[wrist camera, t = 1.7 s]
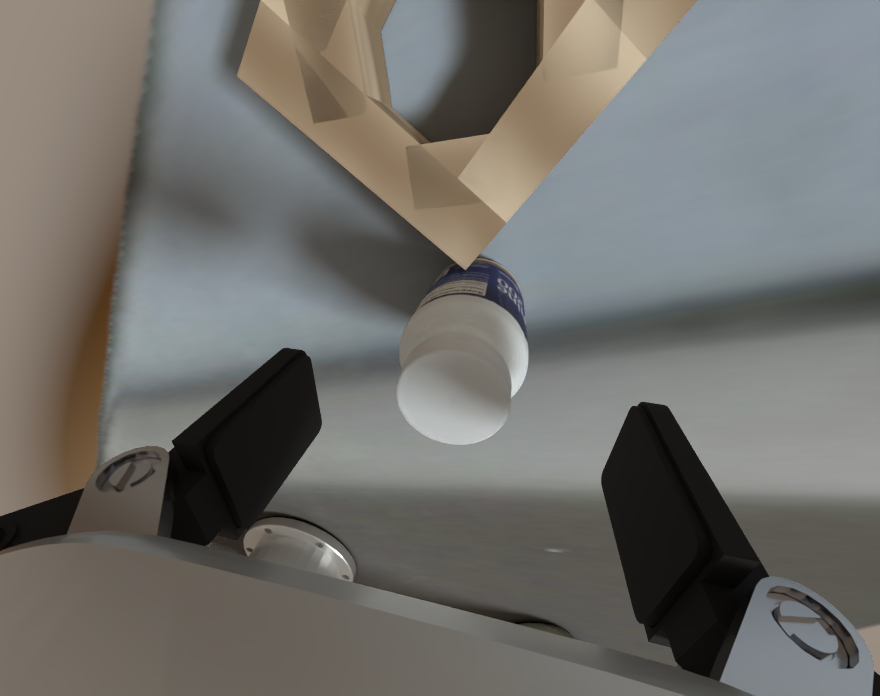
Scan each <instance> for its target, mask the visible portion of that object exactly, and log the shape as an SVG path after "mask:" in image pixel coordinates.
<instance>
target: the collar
mask: <svg viewBox="0 0 880 696" xmlns="http://www.w3.org/2000/svg"><path fill="white" fill-rule="evenodd" d="M395 1H396V0H260V3H259V6H258V10H257V13H256V16H255V19H254V22H253V26H252V29H251V32H250V35H249V39H248V42H247V45H246V48H245V51H244V55H243V58H242V61H241V64H240V67H239V71H238V74H237V77H238V78H240V79H241V80H242V81H243V82H244V83H245V84H247V85H248V86H249V87H250V88H251V89H253V90H254V91H255V92H256V93H257V94H258V95H260V96H261V97H262V98H263V99H264V100H265V101H267V102H268V103H269V104H270V105H271V106H273V107H274V108H275V109H276V110H277V111H278V112H280V113H281V114H282V115H283V116H284V117H286V118H287V119H288V120H289V121H290V122H291V123H293V124H294V125H295V126H296V127H297V128H298V129H300V130H301V131H302V132H303V133H304V134H306V135H307V136H308V137H309V138H310V139H311V140H313V141H314V142H315V143H316V144H317V145H318V146H320V147H321V148H322V149H323V150H324V151H326V152H327V153H328V154H329V155H330V156H331V157H333V158H334V159H335V160H336V161H337V162H338V163H340V164H341V165H342V166H343V167H344V168H346V169H347V170H348V171H349V172H350V173H351V174H353V175H354V176H355V177H356V178H357V179H358V180H360V181H361V182H362V183H363V184H364V185H366V186H367V187H368V188H369V189H370V190H371V191H373V192H374V193H375V194H376V195H377V196H378V197H380V198H381V199H382V200H383V201H384V202H386V203H387V204H388V205H389V206H390V207H391V208H393V209H394V210H395V211H396V212H397V213H398V214H400V215H401V216H402V217H403V218H404V219H406V220H407V221H408V222H409V223H410V224H411V225H413V226H414V227H415V228H416V229H417V230H418V231H420V232H421V233H422V234H423V235H424V236H426V237H427V238H428V239H429V240H430V241H431V242H433V243H434V244H435V245H436V246H437V247H438V248H440V249H441V250H442V251H443V252H444V253H446V254H447V255H448V256H449V257H450V258H451V259H453V260H454V261H455V262H456V263H457V264H458V265H460V266H461V267H462V268H463V269H464V270H466V269H467V268H468V267H469V266H470V265H471V263H472V262H473V261H474V260H475V259H476V258H477V256H478V255H479V254H480V253H481V252H482V251H483V249H484V248H485V247H486V246H487V245H488V244H489V242H490V241H491V240H492V239H493V238H494V237H495V236H496V234H497V233H498V232H499V231H500V230H501V229H502V227H503V226H504V225H505V224H506V223H507V222H508V220H509V219H510V218H511V217H512V216H513V215H514V213H515V212H516V211H517V210H518V209H519V208H520V206H521V205H522V204H523V203H524V202H525V201H526V199H527V198H528V197H529V196H530V195H531V194H532V192H533V191H534V190H535V189H536V188H537V187H538V185H539V184H540V183H541V182H542V181H543V180H544V178H545V177H546V176H547V175H548V174H549V173H550V171H551V170H552V169H553V168H554V167H555V166H556V164H557V163H558V162H559V161H560V160H561V159H562V157H563V156H564V155H565V154H566V153H567V152H568V150H569V149H570V148H571V147H572V146H573V145H574V143H575V142H576V141H577V140H578V139H579V138H580V136H581V135H582V134H583V133H584V132H585V131H586V129H587V128H588V127H589V126H590V125H591V124H592V122H593V121H594V120H595V119H596V118H597V117H598V115H599V114H600V113H601V112H602V111H603V110H604V108H605V107H606V106H607V105H608V104H609V103H610V101H611V100H612V99H613V98H614V97H615V96H616V94H617V93H618V92H619V91H620V90H621V89H622V87H623V86H624V85H625V84H626V83H627V82H628V80H629V79H630V78H631V77H632V76H633V75H634V73H635V72H636V71H637V70H638V69H639V68H640V66H641V65H642V64H643V63H644V62H645V61H646V60H647V58H648V57H649V56H650V55H651V54H652V53H653V51H654V50H655V49H656V48H657V47H658V46H659V44H660V43H661V42H662V41H663V40H664V39H665V37H666V36H667V35H668V34H669V33H670V32H671V30H672V29H673V28H674V27H675V26H676V25H677V23H678V22H679V21H680V20H681V19H682V18H683V16H684V15H685V14H686V13H687V12H688V11H689V9H690V8H691V7H692V6H693V5H694V4H695V2H696V1H697V0H537V68H536V70H535V71H534V73H533V74H532V75H531V77H530V78H529V79H528V81H527V82H526V84H525V85H524V86H523V88H522V89H521V91H520V92H519V93H518V95H517V96H516V98H515V99H514V100H513V102H512V103H511V105H510V106H509V107H508V109H507V110H506V112H505V113H504V114H503V116H502V117H501V118H500V120H499V121H498V123H497V124H496V125H495V127H494V128H493V130H492V131H491V132H490V134H485V135H478V136H472V137H466V138H459V139H453V140H446V141H440V142H434V143H431V142H430V141H428V140H427V139H426V138H425V137H424V136H423V135H422V134H421V133H420V132H419V131H418V130H416V129H415V128H414V127H413V126H412V125H411V124H410V123H409V122H408V121H407V120H405V119H404V118H403V117H402V116H401V115H400V114H399V113H398V112H397V111H396V110H395V109H393V108H392V102H391V96H390V89H389V83H388V76H387V70H386V63H385V56H384V50H383V43H382V37H381V30H382V28H383V26H384V24H385V22H386V20H387V18H388V16H389V14H390V12H391V10H392V7H393V5H394V3H395Z"/></svg>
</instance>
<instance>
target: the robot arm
mask: <svg viewBox="0 0 880 696" xmlns="http://www.w3.org/2000/svg"><path fill="white" fill-rule="evenodd" d="M321 425H322V419H321V414H320V408H319V402H318V397H317V391H316V385H315V380H314V374H313V368H312V363H311V359H310V357H309V356H307V355H306V353H305V352H304V351H303V350H297V349H290V348H283V349H282V350H280V351H279V352H278V353H277V354H276V355H274V356H273V357H272V358H271V359H270V360H268V361H267V362H266V363H265V364H264V365H262V366H261V367H260V368H259V369H258V370H256V371H255V372H254V373H253V374H252V375H250V376H249V377H248V378H247V379H246V380H244V381H243V382H242V383H241V384H240V385H238V386H237V387H236V388H235V389H234V390H232V391H231V392H230V393H229V394H228V395H226V396H225V397H224V398H223V399H222V400H220V401H219V402H218V403H217V404H216V405H214V406H213V407H212V408H211V409H210V410H208V411H207V412H206V413H205V414H204V415H202V416H201V417H200V418H199V419H198V420H196V421H195V422H194V423H193V424H192V425H190V426H189V427H188V428H187V429H186V430H184V431H183V432H182V433H181V434H180V435H178V436H177V437H176V438H175V439H174V440H172V443H173V445H174V448H173V449H172V450H171V451H169V452H167V451H166V450H165V449H164V448H161V447H158V446H145V447H140V448H135V449H132V450H129V451H127V452H124V453H122V454H120V455H118V456H116V457H114V458H112V459H110V460H109V461H107V462H106V463H104V464H103V465H101V466H100V467H99V468H98V469H97V470H96V471H95V472H94V473H93V474H92V475H91V477H90V478H89V480H88V482H87V483H86V486H85V488H83V489H80V490H77V491H74V492H72V493H68V494H65V495H62V496H59V497H57V498H53V499H50V500H48V501H44V502H42V503H39V504H36V505H33V506H30V507H27V508H24V509H21V510H18V511H15V512H12V513H9V514H6V515H3V516H0V696H880V675H878V674H877V673H876V672H874V666H873V661H872V655H871V653H870V651H869V649H868V648H867V646H866V644H865V642H864V640H863V638H862V637H861V636H860V634H859V633H858V632H857V630H856V629H855V628H854V627H853V625H852V624H851V623H850V622H849V621H848V620H847V619H846V618H845V617H844V616H843V615H842V614H841V613H840V612H839V611H838V610H837V609H836V608H835V607H834V606H832V605H831V604H830V603H829V602H827V601H826V600H825V599H823V598H822V597H821V596H819V595H818V594H817V593H815V592H813V591H811V590H810V589H808V588H806V587H804V586H803V585H801V584H799V583H796V582H793V581H791V580H788V579H785V578H780V577H773V576H771V577H769V575H768V573H767V572H766V570H765V568H764V567H763V565H762V563H761V562H760V560H759V558H758V557H757V555H756V553H755V552H754V550H753V548H752V547H751V545H750V543H749V542H748V540H747V538H746V537H745V535H744V533H743V531H742V530H741V528H740V526H739V525H738V523H737V521H736V520H735V518H734V516H733V515H732V513H731V511H730V510H729V508H728V506H727V505H726V503H725V501H724V500H723V498H722V496H721V495H720V493H719V491H718V490H717V488H716V486H715V484H714V483H713V481H712V479H711V478H710V476H709V474H708V473H707V471H706V469H705V468H704V466H703V465H702V463H701V461H700V460H699V458H698V456H697V455H696V453H695V451H694V450H693V448H692V446H691V445H690V443H689V441H688V440H687V438H686V436H685V435H684V433H683V431H682V430H681V428H680V426H679V424H678V423H677V421H676V419H675V418H674V416H673V414H672V413H671V411H670V409H669V408H668V407H667V406H665V405H660V404H654V403H647V402H641V403H639V404H638V406H632V407H631V408H630V410H629V412H628V415H627V417H626V419H625V422H624V424H623V426H622V428H621V431H620V433H619V435H618V438H617V440H616V442H615V445H614V447H613V449H612V451H611V454H610V456H609V458H608V461H607V463H606V465H605V468H604V470H603V472H602V477H601V484H602V488H603V492H604V496H605V500H606V504H607V508H608V512H609V516H610V520H611V524H612V528H613V532H614V536H615V540H616V543H617V547H618V551H619V555H620V559H621V563H622V567H623V571H624V575H625V579H626V583H627V587H628V591H629V594H630V598H631V602H632V606H633V610H634V614H635V617H636V619H637V621H638V622H639V623H641V624H644V626H645V630H646V634H647V638H648V641H649V642H652V643H656V644H660V645H664V646H668V647H671V649H672V652H673V655H674V658H675V661H676V662H677V663H678V665H677V667H674V666H670V665H666V664H663V663H659V662H656V661H652V660H648V659H645V658H641V657H638V656H634V655H630V654H627V653H623V652H620V651H616V650H612V649H609V648H605V647H602V646H598V645H594V644H591V643H587V642H583V641H579V640H576V639H572V638H568V637H564V636H560V635H556V634H552V633H548V632H545V631H541V630H537V629H533V628H529V627H525V626H521V625H518V624H514V623H510V622H506V621H502V620H498V619H494V618H491V617H487V616H483V615H479V614H475V613H471V612H467V611H464V610H460V609H456V608H452V607H448V606H444V605H440V604H436V603H432V602H428V601H424V600H420V599H416V598H412V597H408V596H404V595H401V594H397V593H393V592H389V591H385V590H381V589H377V588H373V587H369V586H365V585H361V584H357V583H353V580H354V577H355V574H356V565H355V563H354V560H353V558H352V556H351V555H350V553H349V551H348V550H347V549H346V548H345V547H344V546H343V545H342V544H341V543H340V542H339V541H337V540H336V539H335V538H334V537H332V536H331V535H329V534H328V533H326V532H325V531H323V530H321V529H319V528H317V527H315V526H313V525H310V524H307V523H305V522H302V521H298V520H294V519H289V518H282V517H272V518H266V519H262V520H259V521H257V522H256V520H257V519H258V518H259V516H260V515H261V513H262V512H263V510H264V509H265V508H266V506H267V505H268V503H269V502H270V501H271V499H272V498H273V496H274V495H275V494H276V492H277V491H278V489H279V488H280V487H281V485H282V484H283V482H284V481H285V479H286V478H287V477H288V475H289V474H290V472H291V471H292V470H293V468H294V467H295V465H296V464H297V463H298V461H299V460H300V458H301V457H302V455H303V454H304V453H305V451H306V450H307V448H308V447H309V446H310V444H311V443H312V441H313V440H314V439H315V437H316V436H317V434H318V433H319V431H320V429H321ZM248 528H250V529H249V530H248V532H247V533H246V534H245V537H244V540H243V544H244V549H245V552H246V554H247V556H244V555H240V554H236V553H232V552H228V551H224V550H219V549H215V548H211V541H212V540H213V539H214V538H215V536H216V535H217V534H218V535H219V536H223V537H227V538H231V539H235V540H238V538H239V537H240V535H241V534H242V533H243V531H244V530H245V529H248Z"/></svg>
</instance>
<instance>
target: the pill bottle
mask: <svg viewBox="0 0 880 696" xmlns="http://www.w3.org/2000/svg"><path fill="white" fill-rule="evenodd" d="M528 353H529V352H528V342H527V333H526V321H525V313H524V303H523V297H522V293H521V289H520V287H519V284H518V282H517V281H516V279H515V278H514V276H513V275H512V274H511V273H510V272H509V271H508V270H507V269H506V268H505V267H503V266H502V265H500V264H498V263H496V262H494V261H491V260H488V259H483V258H476V259H475V260H474V261H473V262H472V263H471V265H470V266H469V267H468V268H467V269H466V270H464V269H463V268H462V267H461V266H460V265H458V264H457V263H454V264H452V265H451V266H449V267H448V268H446V269H445V270H444V271H443V272H442V273H441V274H440V275H439V277H438V278H437V279H436V281H435V282H434V284H433V285H432V287H431V288H430V290H429V291H428V293H427V294H426V296H425V297H424V299H423V300H422V302H421V303H420V305H419V307H418V308H417V310H416V311H415V313H414V314H413V316H412V317H411V318H410V320H409V321H408V323H407V325H406V327H405V329H404V332H403V334H402V337H401V340H400V346H399V358H400V364H401V367H402V371H401V373H400V375H399V378H398V381H397V386H396V399H397V403H398V406H399V409H400V411H401V413H402V414H403V416H404V418H405V419H406V420H407V422H408V423H409V424H410V425H411V426H412V427H414V428H415V429H416V430H417V431H419V432H420V433H421V434H423V435H425V436H427V437H429V438H431V439H433V440H436V441H439V442H443V443H447V444H457V445H463V444H472V443H476V442H479V441H482V440H484V439H487V438H489V437H490V436H492V435H494V434H495V433H496V432H497V431H498V430H499V429H500V428H501V427H502V426H503V424H504V423H505V421H506V419H507V417H508V414H509V410H510V404H511V398H512V397H513V396H514V395H515V393H516V392H517V391H518V390H519V388H520V387H521V385H522V383H523V381H524V379H525V376H526V372H527V368H528Z"/></svg>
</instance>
